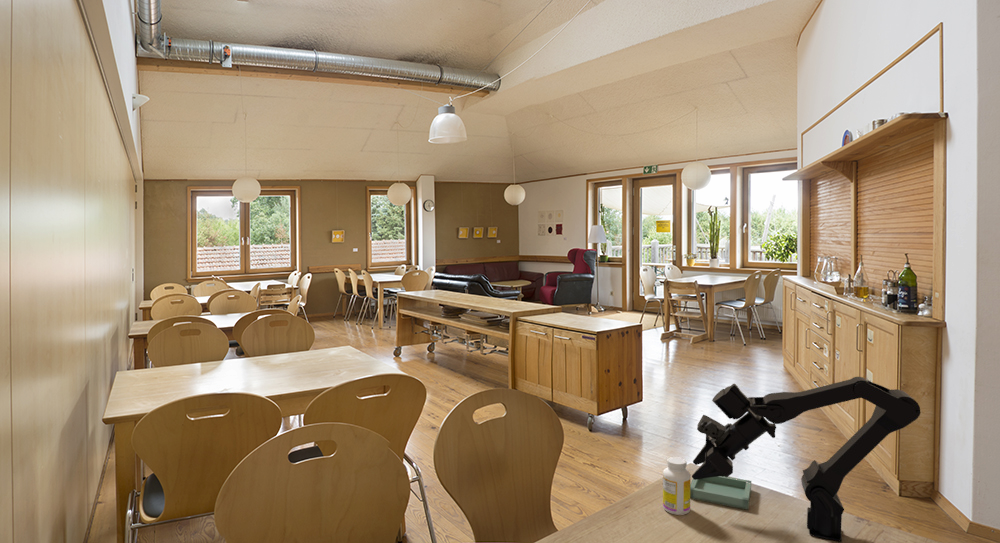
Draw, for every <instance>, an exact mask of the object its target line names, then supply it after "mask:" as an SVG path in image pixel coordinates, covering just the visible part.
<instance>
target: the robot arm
mask: <svg viewBox="0 0 1000 543" xmlns="http://www.w3.org/2000/svg"><path fill="white" fill-rule="evenodd" d="M857 399H864V400H865V401H867V402H870V403H871V404H873V405H875V406H874V410H873V412H872V414H871V417H870V418H869V419H868V420H867V421H866V422H865V423H864V424H863V425H862V426H861V427H860V428H859V429H858V430H857V431H856V432H855V433H854V434H853V435H852V436H851V437H850V438H849V439H848V440H847V441H846V442H845V443H844V444H843V445H842V446H841V447H840V448H839V449H838V450H837V451H836V452H835V453H834V454H833V455H832V456H831V457H829V459H828V460H826V461H823V462H822V463H818V462H817V460H812V462H811V463H810V464H809V466H808V467H807V468H806V469H803V470H802V473H803V474H802V476H801V478H800V479H801V481H800V483H801V485H802V486H801V487H802V488H803V492H804V495H805V497H806V499H807V500H808V501H809V502H810V505H809V506H810V507H808V506H807V510H806V513H807V515H806V529H808V531H809V536H812V537H816V538H821V539H826V540H831V541H834V542H843V538H842V537H843V536H842V523H843V522H842V521H843V520H842V519H843V518H842V517H843V513H844V511H845V508H844V505H843V504H842V502H841V498H839V495H838V492H839V491H840V488H841V485H842V483H843V480H844V479H845V478H846V476H847V475H848V474H849V473H850V472H851V471H853V470H854V469H855V467H857V466H858V465H859V464H860V463H861V462H862V461H863V460H864V459H865V458H866V457H867V456H868V455H869V454H870V453H871V452H873V450H874V449H875V448H877V446H878V445H879V444H880V443H882V441H884V440H885V438H887V437H888V436H889V435H890V434H892V433H895V432H898V431H900V430H902V429H904V428H906V427H907V426H909V425H910V424H912V423H914V422H916V420H918V418H920V416H921V413H922V412H921V406H920V405H919V402H917V401H916V400H915V399H914V398H913V397H912V396H911V395H910V394H908V393H907V392H906V391H904V390H902V389H894V388H893V389H890V388H887V387H885V386H883V385H880V384H878V383H875V382H873V381H870V380H868V379H866V378H864V377H862V376H853V377H852V378H850V379H847V380H842V381H839V382H834V383H831V384H827V385H823V386H822V385H821V386H818V387H814V388H810V389H807V390H803V391H797V392H791V391H781V392H772V393H771V392H770V393H768V394H765V395H764V396H755V397H754V396H752V397H751V396H750V397H747V395H745V394H744V393H743V392H742V390H740V387H739V386H738V385H737V384H736V383H732V384H731V385H729V386H727V387H725V388H722V389H720V390H719V391H718V392H717V393H716V394H715V395H714V397H713V398H712V400H711V401H712V402H713V404H715V406H716V407H717V408H719V410H720V411H721V412H723V414H724V415H725V416H726V417H727V418H728V419H729V420H730V419H732V420H736V421H735V422H734V423H733V424H732V423H727V424H725V425H724V424H722V423H721V422H719V421H717V420H715V419H713V418H712V417H710V416H708V415H705V414H703V415H702V416H701V418H700V420H699V422H698V424H697V425H696V426H697V429H696V430H697V431H698V432H699V433H701V434H704V435H705V444H704V445H703V447H702V449H701V450H700V451H699V452H698V453H697V455H696V456H695V458H694V459H693V460H692V463H693V464H694V465H695V466H698V465H700V464H701V465H700V466H699V467H698V468H697V469H696V470H695V472H694V473H693V474H691V478H692V480H693V479H694V480H697V479H703V478H710V477H718V476H722V477H724V476H725V477H726V478H727V477H730V476H731V475H732V474H733V473H734V465H733V464H734V463H733V461H734V460H735V459H736V455H737V454H739V453H740V452H741V451H743V450H744V451H747V450H748V449H750V445H751V444H752V443H753V442H755V441H756V440H758V439H759V438H760V437H761V436H763V435H764V434H765V433H767V434H768V435H769V436H770V437H771V438H772V439H775V438H776V429H777V425H781V424H784V423H786V422H788V421H791V420H793V419H795V418H797V417H799V416H801V414H804V413H806V412H809V411H812V410H815V409H819V408H825V407H827V406H833V405H837V404H841V403H845V402H849V401H853V400H857Z"/></svg>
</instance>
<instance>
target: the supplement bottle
mask: <svg viewBox="0 0 1000 543" xmlns="http://www.w3.org/2000/svg"><path fill="white" fill-rule="evenodd" d="M687 463H688V462H687V460H686V459H684V458H683V457H679V456H671V457H668V458H667V461H666V465H667V467H666V468H664V469H663V471H662V507H663V509H664V510H665V511H666V512H667V513H668V514H672V515H675V516H676V515H677V516H683V515H686V514H688V513H689V512H690V511H691V498H690V485H691V480H692V479H691V478H692V476H691V472H690V471H689V470H688V469H687Z"/></svg>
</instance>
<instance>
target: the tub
mask: <svg viewBox="0 0 1000 543" xmlns="http://www.w3.org/2000/svg"><path fill="white" fill-rule="evenodd" d="M736 479H737V480H736ZM746 482H748V483H746ZM749 483H750V484H749ZM751 492H752V480H748V479H741V478H737V477H733V476H732V477H731V476H728V477H727V478H726V477H725V476H724V477H722V476H718V477H710V478H703V479H697V480H694V479H693V478H692V479H691V481H690V500H691V499H692V500H697V501H703V502H707V503H712V504H716V505H721V506H726V507H731V508H735V509H737V508H738V509H743V510H746V511H747V510H749V504H750V500H751Z"/></svg>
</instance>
